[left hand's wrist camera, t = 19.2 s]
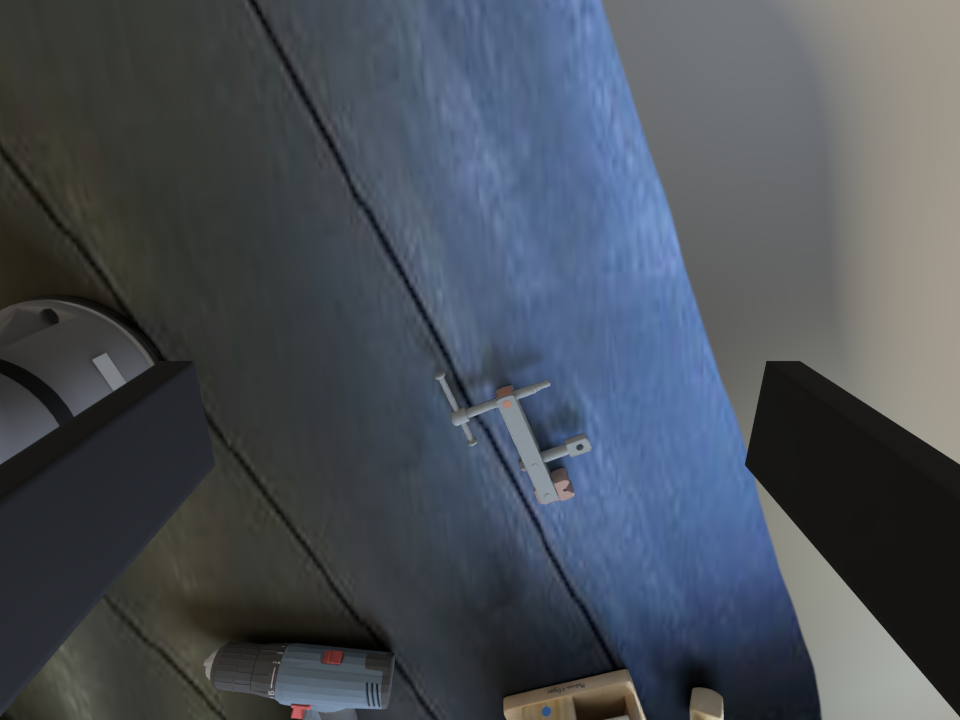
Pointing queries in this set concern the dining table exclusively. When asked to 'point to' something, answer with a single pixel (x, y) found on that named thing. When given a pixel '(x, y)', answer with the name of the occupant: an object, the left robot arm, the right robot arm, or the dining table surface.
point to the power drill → (306, 677)
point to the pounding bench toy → (600, 701)
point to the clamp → (524, 439)
